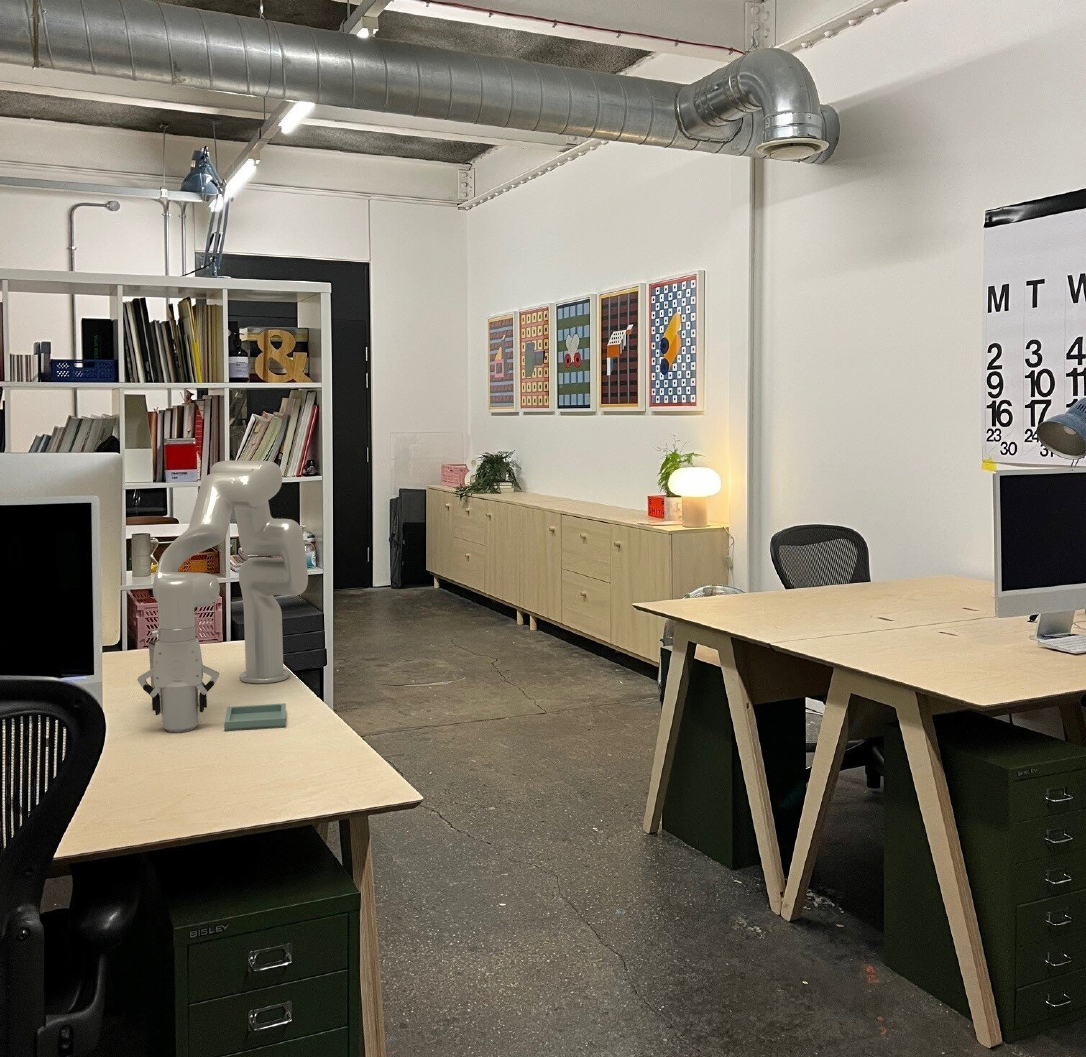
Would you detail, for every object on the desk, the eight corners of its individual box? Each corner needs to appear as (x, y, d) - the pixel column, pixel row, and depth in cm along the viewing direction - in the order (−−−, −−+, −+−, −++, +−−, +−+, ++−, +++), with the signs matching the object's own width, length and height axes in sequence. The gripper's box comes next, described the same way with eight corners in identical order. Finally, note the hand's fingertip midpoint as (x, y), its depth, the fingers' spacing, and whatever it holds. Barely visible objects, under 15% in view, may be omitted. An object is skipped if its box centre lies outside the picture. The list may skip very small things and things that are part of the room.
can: (205, 726, 244) (204, 673, 242) (179, 735, 237) (176, 680, 236) (182, 722, 247) (180, 669, 246) (155, 730, 241) (153, 676, 240)
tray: (227, 715, 253) (227, 706, 252) (285, 711, 255) (285, 703, 255) (224, 731, 240) (224, 722, 240) (285, 727, 243) (285, 718, 243)
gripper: (132, 640, 234) (136, 719, 236) (217, 636, 238) (220, 714, 240) (137, 633, 242) (140, 710, 244) (219, 629, 246) (222, 705, 247)
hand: (180, 712), depth 242 cm, fingers open, 8 cm apart
